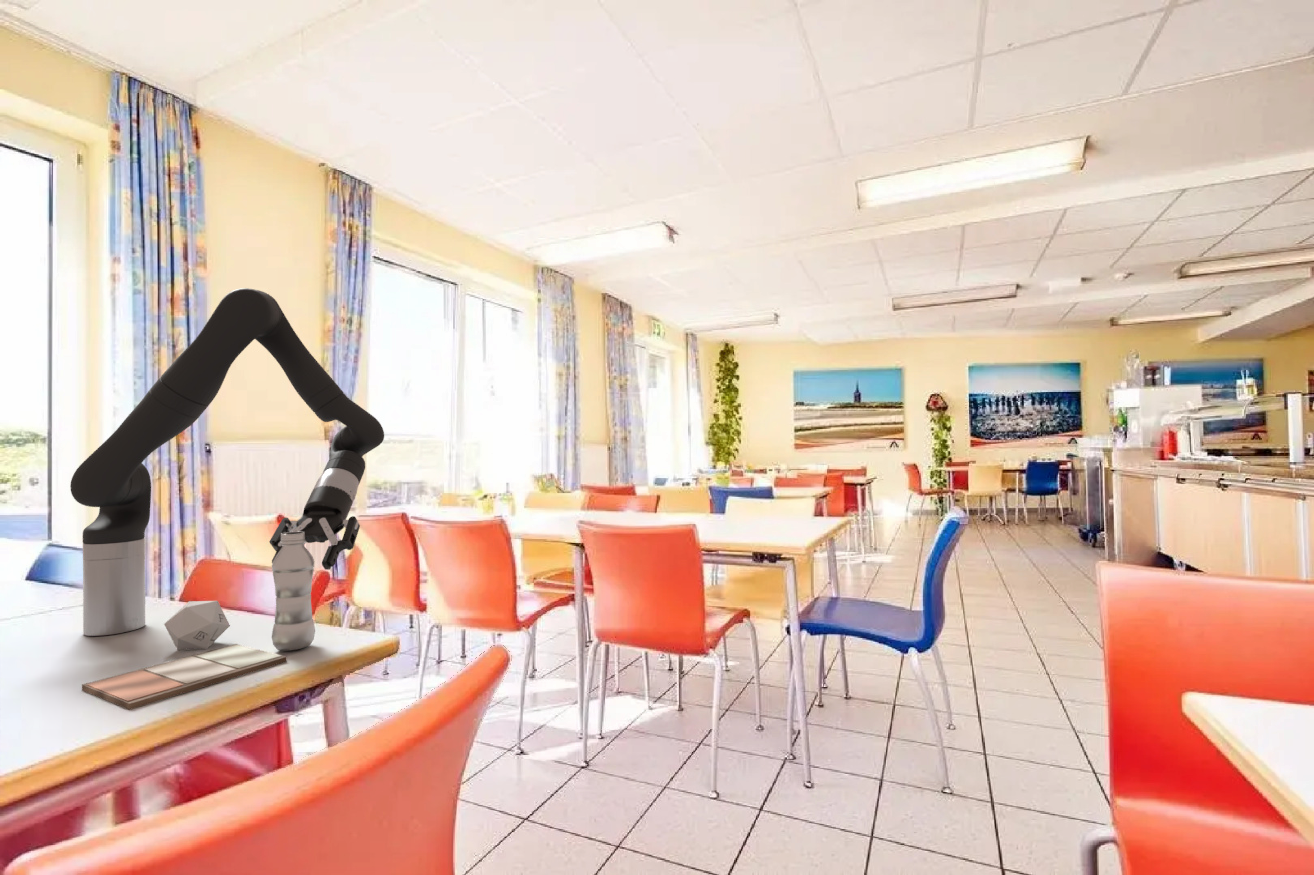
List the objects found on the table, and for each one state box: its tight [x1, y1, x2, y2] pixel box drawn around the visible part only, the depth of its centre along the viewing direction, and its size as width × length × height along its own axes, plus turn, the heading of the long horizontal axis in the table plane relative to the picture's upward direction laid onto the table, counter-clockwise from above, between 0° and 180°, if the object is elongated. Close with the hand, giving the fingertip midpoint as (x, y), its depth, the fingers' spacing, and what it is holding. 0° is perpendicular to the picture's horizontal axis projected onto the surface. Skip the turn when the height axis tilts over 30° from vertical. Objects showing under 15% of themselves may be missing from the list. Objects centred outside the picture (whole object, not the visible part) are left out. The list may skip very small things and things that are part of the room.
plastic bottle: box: [271, 532, 316, 652], centre depth 110 cm, size 6×7×20 cm
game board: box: [81, 643, 287, 710], centre depth 98 cm, size 15×21×1 cm
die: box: [163, 600, 231, 651], centre depth 113 cm, size 8×9×10 cm
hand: (301, 567), depth 113 cm, fingers open, 8 cm apart
